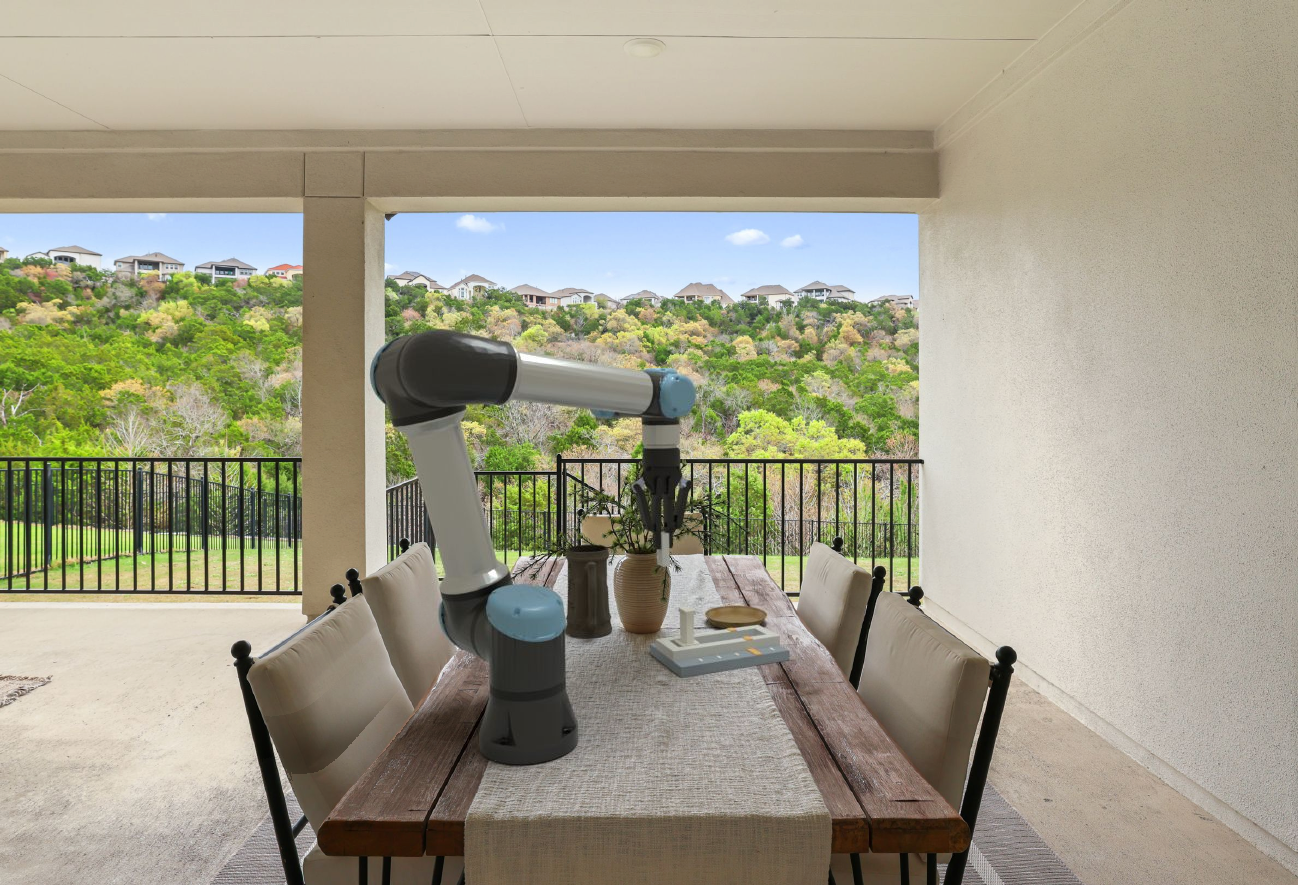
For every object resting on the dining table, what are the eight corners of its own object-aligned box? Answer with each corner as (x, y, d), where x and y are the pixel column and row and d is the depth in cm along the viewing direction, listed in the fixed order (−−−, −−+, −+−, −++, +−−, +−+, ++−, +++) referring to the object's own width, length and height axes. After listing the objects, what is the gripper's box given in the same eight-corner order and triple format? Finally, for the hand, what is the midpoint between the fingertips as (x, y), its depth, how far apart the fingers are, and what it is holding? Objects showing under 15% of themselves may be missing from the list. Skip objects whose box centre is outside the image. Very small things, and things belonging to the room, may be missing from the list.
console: (789, 659, 153) (789, 639, 153) (681, 677, 144) (681, 655, 144) (750, 638, 168) (749, 619, 167) (649, 653, 159) (649, 633, 158)
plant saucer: (778, 629, 175) (778, 618, 175) (719, 636, 171) (719, 624, 170) (750, 613, 189) (750, 603, 189) (695, 619, 185) (695, 608, 184)
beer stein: (559, 627, 179) (559, 544, 177) (603, 622, 182) (603, 540, 180) (577, 650, 164) (576, 560, 162) (623, 644, 168) (623, 556, 166)
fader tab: (700, 652, 152) (699, 610, 151) (682, 654, 150) (681, 612, 150) (692, 646, 156) (691, 605, 155) (674, 649, 154) (673, 607, 154)
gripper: (683, 444, 155) (685, 558, 156) (623, 447, 150) (626, 564, 151) (699, 446, 148) (701, 565, 149) (637, 448, 143) (639, 571, 144)
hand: (663, 564), depth 150 cm, fingers closed
